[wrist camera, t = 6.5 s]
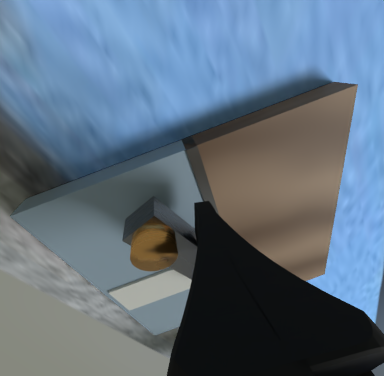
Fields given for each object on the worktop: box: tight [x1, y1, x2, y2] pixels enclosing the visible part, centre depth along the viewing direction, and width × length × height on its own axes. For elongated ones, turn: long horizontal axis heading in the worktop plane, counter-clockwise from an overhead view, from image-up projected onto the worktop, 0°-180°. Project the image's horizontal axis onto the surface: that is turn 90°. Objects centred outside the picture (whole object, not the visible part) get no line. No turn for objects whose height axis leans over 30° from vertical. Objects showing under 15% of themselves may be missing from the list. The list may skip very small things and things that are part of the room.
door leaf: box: [10, 140, 204, 335], centre depth 15 cm, size 18×10×2 cm, turn 17°
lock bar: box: [122, 196, 198, 280], centre depth 12 cm, size 10×2×3 cm, turn 38°
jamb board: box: [182, 82, 358, 281], centre depth 15 cm, size 18×9×2 cm, turn 17°
